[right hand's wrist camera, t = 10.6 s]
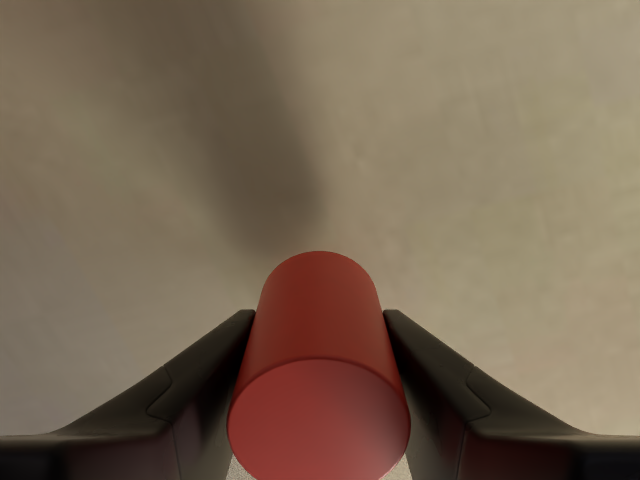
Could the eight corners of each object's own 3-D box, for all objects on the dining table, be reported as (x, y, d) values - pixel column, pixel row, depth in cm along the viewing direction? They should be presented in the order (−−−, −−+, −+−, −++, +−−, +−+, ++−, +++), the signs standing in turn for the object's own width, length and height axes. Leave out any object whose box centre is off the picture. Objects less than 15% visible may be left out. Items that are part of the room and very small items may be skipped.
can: (336, 227, 11) (347, 322, 7) (399, 317, 12) (445, 452, 8) (237, 290, 12) (185, 414, 7) (304, 369, 13) (296, 523, 9)
